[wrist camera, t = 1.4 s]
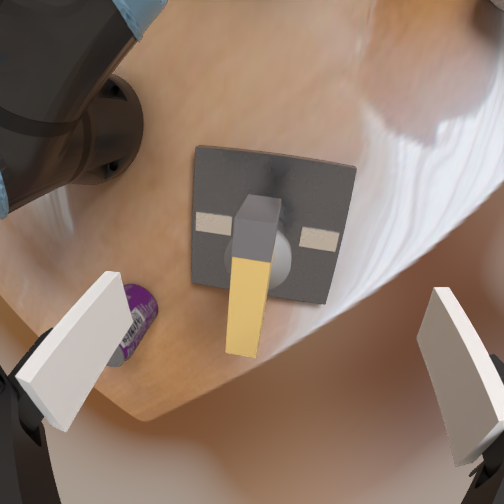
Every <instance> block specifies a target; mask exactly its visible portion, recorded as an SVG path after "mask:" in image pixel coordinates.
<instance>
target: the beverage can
mask: <svg viewBox="0 0 504 504" xmlns="http://www.w3.org/2000/svg"><path fill="white" fill-rule="evenodd" d="M123 287H124V291H125V294H126V298H127V302H128V305H129V309H130V312H131V316H132V319H133V323H132V325H131V326H130V328H129V330H128V331H127V333H126V334H125V336H124V337H123V339H122V340H121V342H120V344H119V345H118V347H117V348H116V350H115V351H114V353H113V355H112V356H111V358H110V359H109V361H108V363H107V364H106V365H107V366H110V367H119V366H121V365H122V364H123V362H124V361H126V360H128V359H129V358H130V357H131V356H132V354H133V353H134V351H135V349H136V348H137V346H138V344H139V343H140V341H141V340H142V338H143V336H144V335H145V333H146V332H147V330H148V328H149V327H150V325H151V324H152V322H153V321H154V319H155V317H156V316H157V313H158V305H157V302H156V300H155V298H154V297H153V296H152V294H151V293H150V292H149V291H147V290H146V289H145V288H143V287H141V286H139V285H136V284H127V285H124V286H123Z"/></svg>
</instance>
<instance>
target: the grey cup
mask: <svg viewBox="0 0 504 504" xmlns="http://www.w3.org/2000/svg"><path fill="white" fill-rule="evenodd" d="M490 1H491V2H492V3H493V4H494V5H495V6H496V7H498V8H499V9H501V10H503V11H504V0H490Z"/></svg>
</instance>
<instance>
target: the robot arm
mask: <svg viewBox="0 0 504 504" xmlns="http://www.w3.org/2000/svg"><path fill="white" fill-rule="evenodd" d="M167 1H168V0H0V219H3V218H5V217H7V215H8V214H9V213H11V212H13V211H14V210H16V209H18V208H20V207H22V206H24V205H26V204H27V203H29V202H31V201H33V200H35V199H37V198H39V197H41V196H43V195H45V194H47V193H49V192H51V191H53V190H55V189H57V188H59V187H61V186H63V185H66V184H82V185H94V184H99V183H103V182H105V181H108V180H110V179H112V178H114V177H116V176H118V175H119V174H121V173H122V172H123V171H124V170H125V169H126V168H127V167H128V166H129V165H130V164H131V162H132V161H133V159H134V158H135V156H136V154H137V152H138V149H139V147H140V144H141V140H142V135H143V113H142V108H141V105H140V102H139V99H138V97H137V95H136V93H135V92H134V90H133V89H132V87H131V86H130V85H129V84H128V83H127V82H126V81H125V80H123V79H122V78H120V77H118V76H116V75H114V74H112V73H113V71H114V70H115V69H116V67H117V66H118V65H119V64H120V62H121V61H122V60H123V58H124V57H125V56H126V55H127V53H128V52H129V51H130V50H131V49H132V47H133V46H134V45H135V44H136V43H137V41H138V42H140V41H141V40H142V38H143V34H144V32H145V31H146V30H147V28H148V27H149V26H150V25H151V23H152V22H153V21H154V20H155V19H156V17H157V16H158V15H159V14H160V13H161V12H162V10H163V9H164V8H165V6H166V4H167ZM132 323H133V319H132V316H131V312H130V309H129V305H128V302H127V298H126V294H125V291H124V287H123V283H122V279H121V275H120V272H110V271H105V272H104V273H103V274H102V275H101V277H100V278H99V279H98V280H97V281H96V282H95V283H94V284H93V285H92V286H91V287H90V288H89V289H88V290H87V291H86V293H85V294H84V295H83V296H82V297H81V298H80V299H79V300H78V301H77V302H76V304H75V305H74V306H73V307H72V308H71V309H70V310H69V311H68V313H67V314H66V315H65V316H64V317H63V318H62V319H61V321H60V322H59V323H58V324H57V325H56V326H55V327H54V328H51V329H49V330H48V331H46V332H45V333H43V334H42V335H41V336H40V337H39V338H38V340H37V341H36V342H35V345H33V346H32V347H31V348H30V349H29V352H27V353H26V354H25V355H24V356H23V358H22V359H21V360H20V361H19V363H18V364H17V365H16V367H15V368H14V369H13V370H12V372H11V373H10V374H9V375H8V376H7V375H6V374H5V372H4V370H3V369H2V367H1V366H0V504H61V501H60V498H59V494H58V491H57V487H56V483H55V479H54V475H53V471H52V467H51V462H50V457H49V452H48V447H47V441H46V435H45V429H44V426H43V424H42V422H41V421H42V419H43V418H44V417H45V418H46V419H47V421H48V422H49V423H50V425H51V426H53V427H55V428H58V429H60V430H62V431H64V432H67V430H68V429H69V427H70V425H71V423H72V422H73V419H74V418H75V416H76V414H77V413H78V411H79V409H80V407H81V406H82V404H83V403H84V401H85V399H86V397H87V396H88V394H89V392H90V391H91V389H92V387H93V386H94V384H95V382H96V381H97V379H98V377H99V376H100V374H101V372H102V371H103V369H104V368H105V366H106V364H107V363H108V361H109V359H110V358H111V356H112V355H113V353H114V351H115V350H116V348H117V347H118V345H119V344H120V342H121V340H122V339H123V337H124V336H125V334H126V333H127V331H128V330H129V328H130V326H131V325H132ZM416 339H417V342H418V344H419V347H420V349H421V353H422V355H423V358H424V361H425V364H426V367H427V369H428V372H429V375H430V378H431V381H432V384H433V387H434V390H435V393H436V397H437V400H438V403H439V407H440V410H441V413H442V417H443V420H444V424H445V427H446V431H447V435H448V439H449V443H450V446H451V451H452V455H453V459H454V464H455V467H458V466H462V465H466V464H469V463H473V462H474V461H475V460H476V459H477V458H478V457H479V456H480V455H481V454H482V455H483V459H484V461H483V462H482V463H481V464H479V465H478V466H477V467H476V468H475V469H474V470H473V471H472V472H471V473H470V475H469V477H471V476H472V475H474V474H475V473H476V472H477V473H476V475H475V477H474V479H473V481H472V483H471V485H470V487H469V489H468V491H467V493H466V495H465V497H464V499H463V501H462V503H461V504H504V363H503V362H502V361H501V360H500V359H499V358H498V357H497V356H496V355H495V354H492V355H488V353H487V351H486V349H485V347H484V345H483V344H482V342H481V340H480V338H479V337H478V335H477V333H476V331H475V329H474V328H473V326H472V324H471V322H470V321H469V319H468V318H467V316H466V314H465V312H464V311H463V309H462V307H461V306H460V304H459V303H458V301H457V299H456V298H455V296H454V295H453V293H452V292H451V290H450V288H449V287H434V288H433V291H432V294H431V298H430V301H429V304H428V307H427V310H426V313H425V316H424V319H423V322H422V324H421V327H420V330H419V333H418V335H417V338H416Z"/></svg>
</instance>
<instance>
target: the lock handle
mask: <svg viewBox="0 0 504 504" xmlns="http://www.w3.org/2000/svg"><path fill="white" fill-rule="evenodd" d="M281 201H282V199H279V198H272V197H265V196H258V195H251V194H248V196H247V198H246V199H245V201H244V203H243V205H242V206H241V208H240V210H239V211H238V213H237V215H236V217H235V220H234V232H233V237H232V238H231V240H230V242H229V244H228V246H227V248H226V251H225V254H224V264H225V268H226V270H227V272H228V274H229V276H230V277H231V281H230V294H229V308H228V322H227V337H226V352H225V353H230V354H235V355H241V356H246V357H252V358H256V355H257V349H258V344H259V339H260V334H261V329H262V324H263V319H264V313H265V306H266V300H267V293H268V290H270V289H273V288H275V287H277V286H279V285H280V284H281V283H282V282H283V281H284V280H285V279H286V278H287V276H288V274H289V272H290V268H291V258H292V250H291V246H290V243H289V241H288V239H287V238H286V236H285V235H284V234H283V233H282V232H281V231H280V230H278V222H279V215H280V208H281Z"/></svg>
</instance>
